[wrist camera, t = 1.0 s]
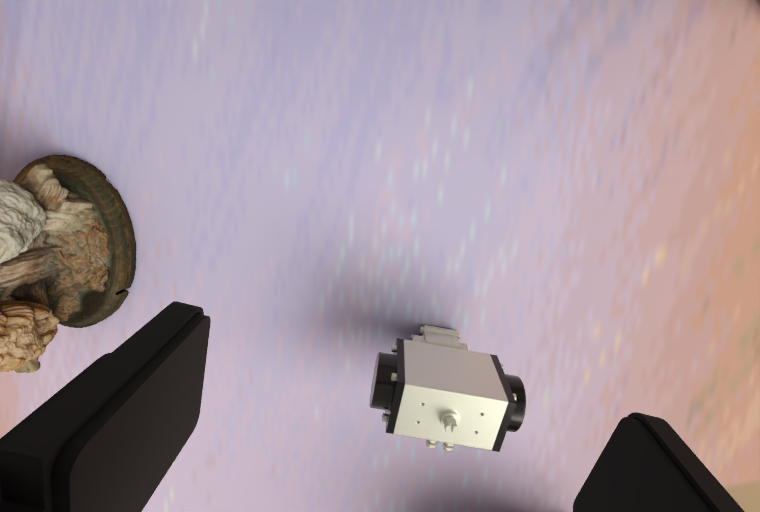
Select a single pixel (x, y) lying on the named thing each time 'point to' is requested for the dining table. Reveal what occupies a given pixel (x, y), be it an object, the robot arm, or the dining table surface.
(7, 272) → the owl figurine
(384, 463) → the dining table surface
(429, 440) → the pneumatic valve
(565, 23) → the dining table surface
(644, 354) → the dining table surface
